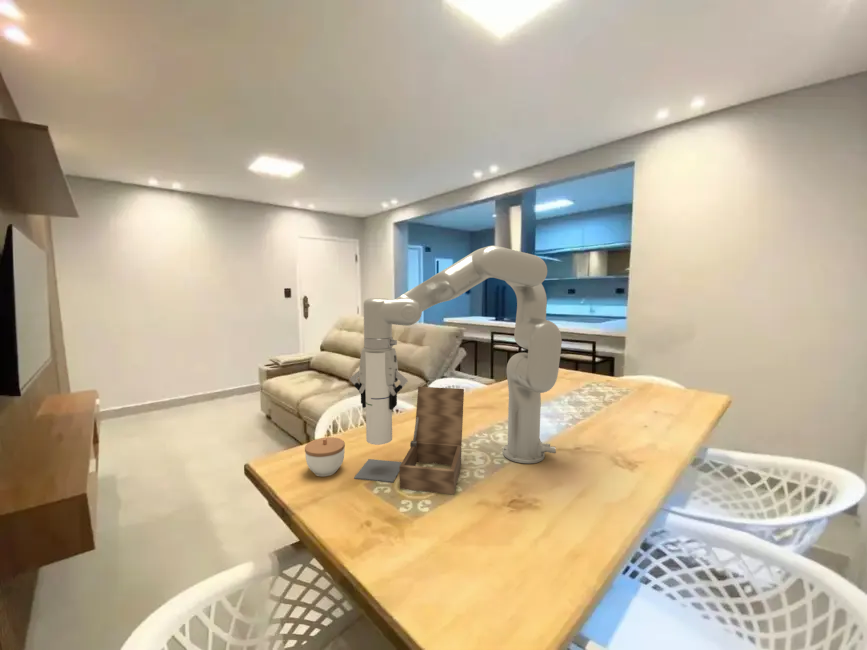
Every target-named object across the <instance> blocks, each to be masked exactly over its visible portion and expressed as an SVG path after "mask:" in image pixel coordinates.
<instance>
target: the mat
mask: <svg viewBox="0 0 867 650" xmlns="http://www.w3.org/2000/svg"><path fill="white" fill-rule="evenodd" d="M401 463H402V461H395V460H394V461H393V460H384V459H375V458H374V459H372V458H368V459H367V461H365V463H364V464H363V466H362V467H361V468H360V469H359V471H358V472H357V473H356V474H355V476H354V477H353V479H354V480H362V481H363V480H364V481H372V482H382V483H392V484H393V483H394V482H395V481H396V479H397V477H398V475H400V469H399V466H400V465H401Z"/></svg>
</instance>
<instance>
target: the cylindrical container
mask: <svg viewBox="0 0 867 650" xmlns="http://www.w3.org/2000/svg"><path fill="white" fill-rule="evenodd" d="M365 354H366V385H365V391H366V407H365V430H366V432H365V434H366V435H365V438H366V442H367V443H368V444H370V445H377V446H378V445H385V444H388V443H390V442H391V441H392V440H393V410H390V400H389V397H390V395H391V392H390V390H389V386H387V384H386V375H385V353H380V352H365ZM387 359H388V358H387Z"/></svg>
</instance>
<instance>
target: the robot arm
mask: <svg viewBox="0 0 867 650" xmlns="http://www.w3.org/2000/svg"><path fill="white" fill-rule="evenodd" d="M547 275H548V266H547V264H546V262H545V260H544V259H542V258H541V257H540V256H538V255H535V254H532V253H527V252H524V251H523V252H522V251H520V250H515V249H511V248H507V247H503V246H499V245H488V246H484V247H481V248H478V249H476V250H474V251H473V252H471V253H469V254H468V255H466V256H465V257H462V258H461V259H459V260H458V261H456V262H455V263H452V264H451V265H449V266H448V267H446V268H445V269H442V270H440V272H438V273H436V274H434V275H433V276H431V277H430V278H428V279H426V280H425V281H423V282H421V283H419V284H417V285H416V286H414V287H412V288H411V289H409V290H408V291H406V292H404V293H403V294H401V295H400V296H398V297H396V298H395V299H389V298H380V297H379V298H372V297H371V298H367V299H365V300H364V302H363V346H364V347H363V348H362V349H361V352H360V358H359V359H360V360H359V370H358V371H357V372H356V373H354V374H353V375H352V376H351V377H350V378H349V380H350V382H351V383H352V385H354V387H355V388H356V390H357V391H358V393H359V394H360V404H361V407H362V409H366V391H365V385H366V354H365V352H380V353H385V375H386V384H387V386H389V390H390V392H391V395H390V397H389V400H390V410H392V411H393V410H394V409H395V408H396V406H397V405H398V393H399V392H400V391H401V390H402V389H403V388H404V387H405V385H406V384H407V383H408V382H409V381H408V379H407V378H406V377H405V376H404V375H402V374H401V373H400V372H399V366H398V364H399V363H398V355H397V351H396V348H395V347H394V346H397V345H398V340H396V339H394V338H393V325H395V326H396V325H397V326H403V327H407V326H408V327H409V326H413V325H416V324H417V323H418V321H420V319H421V317H422V313H423V312H424V311H427V310H428V309H429V308H431V307H433V306H435V305H438V304H441V303H444V302H449V301H451V300H454V299H457V298H458V297H460V296H462V295H463V294H465V293H466V292H468V291H469V290H471V289H472V288H474V287H475V286H477V285H479V284H481V283H482V282H484V281H486V280H487V279H490V278H493V279H496V280H497V279H498V280H501V281H505V283H506V284H507V285H508V286H510V287H511V288H512V290H513V292H514V293H515V296H516V303H517V304H516V305H517V306H516V315H515V317H516V318H515V326H514V335H513V336H514V340H515V343H516V344H517V345H518V346H519V347H520V348H523V349H526V350H527V352H518V353H515V354H514V355H512V356H511V357H510V358H509V359H508V362H507V364H506V378H507V379H506V380H507V386H508V387H507V388H508V405H507V406H508V407H507V408H508V409H507V412H508V414H507V415H508V416H507V444H506V445H504V446H503V448H502V455H503V456H504V457H505V458H506V459H508V460H510V461H512V462H515V463H519V464H528V465H529V464H536V463H540V462H542V461H543V460H544V459H545V454H546V453H550V454H556V451H557V450H556V446H553V445H551V443H548V442H547V443H545V442H544V443H543V442H542V441H541V410H542V409H541V406H542V400H541V399H542V398H541V394H544V393H547V392H549V391H551V390H552V389H553V387H554V386H555V385H556V382H557V379H558V375H559V371H560V370H559V368H560V361H561V352H562V341H563V340H562V335H561V334H562V333H561V330H560V328H559V327H558V326H557V325H556V324H555V323H554V322H553V321H550V320H548V319H547V307H548V306H547V304H548V301H547V293H546V290H545V287H544V285H543V282H544V281H545V280H546V278H547ZM387 358H388V359H387ZM358 379H359V380H358ZM398 381H399V384H398V385H396V383H397V382H398Z"/></svg>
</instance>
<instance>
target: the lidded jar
mask: <svg viewBox="0 0 867 650" xmlns="http://www.w3.org/2000/svg"><path fill="white" fill-rule="evenodd" d="M345 446H346V443H345V441H344V440H343V439H341V438H338V437H332V436H330V437H321V438H316V439H313V440H311V441H309V442H308V443H306V445H305V447H304V452H305V462H306V465H307V467H308V469H309V470H310V471H311V472H312V473H314V475H315V476H317V477H321V478H322V477H329V476H332V475H334V474H336V472H337V471H338V470H339V468H341V466H342V464H343V462H344V459H345Z"/></svg>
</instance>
